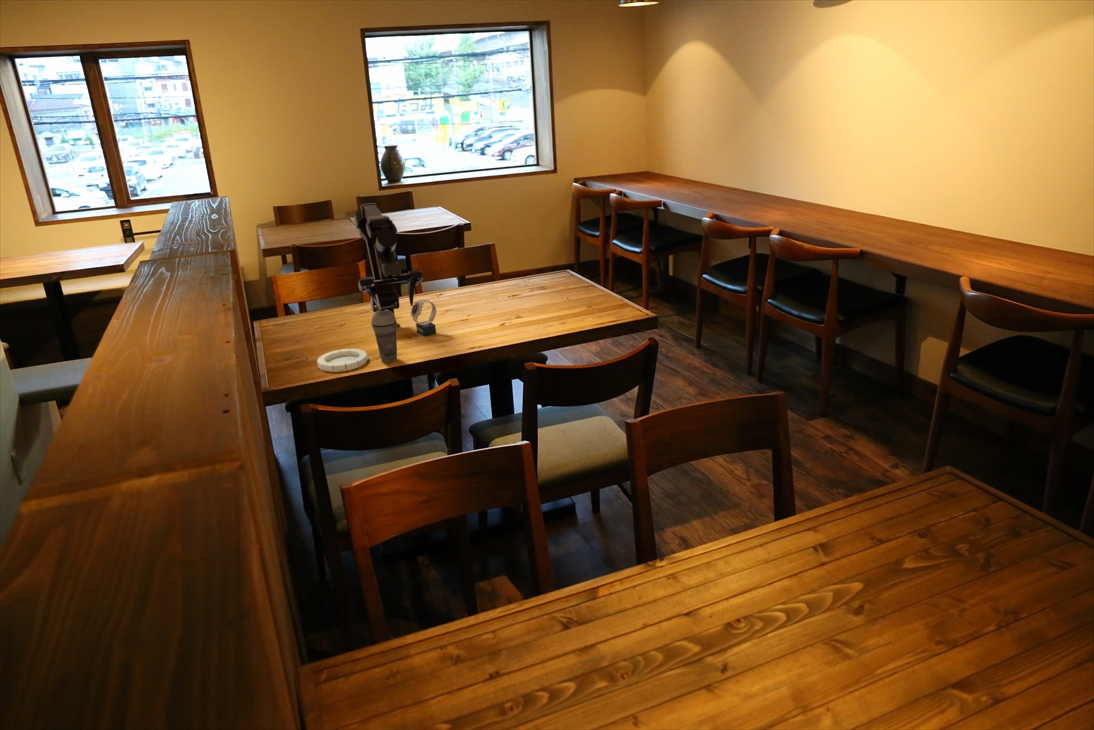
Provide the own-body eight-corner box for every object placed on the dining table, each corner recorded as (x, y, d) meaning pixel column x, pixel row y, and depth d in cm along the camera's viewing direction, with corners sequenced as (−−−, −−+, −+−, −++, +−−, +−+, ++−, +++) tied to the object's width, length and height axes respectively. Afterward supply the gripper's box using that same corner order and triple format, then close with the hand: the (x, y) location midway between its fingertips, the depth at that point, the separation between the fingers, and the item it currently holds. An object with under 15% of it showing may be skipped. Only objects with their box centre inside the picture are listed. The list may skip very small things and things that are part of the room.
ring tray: (311, 362, 219) (310, 357, 218) (355, 350, 226) (354, 345, 226) (329, 375, 208) (328, 369, 208) (375, 362, 216) (374, 356, 215)
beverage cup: (396, 364, 213) (387, 298, 206) (372, 364, 215) (362, 298, 207) (405, 355, 220) (397, 291, 213) (382, 355, 221) (373, 291, 214)
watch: (411, 333, 239) (407, 301, 235) (434, 328, 243) (430, 296, 239) (418, 338, 235) (414, 305, 231) (441, 332, 239) (437, 300, 235)
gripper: (356, 254, 211) (366, 306, 210) (420, 245, 217) (431, 296, 216) (354, 265, 222) (364, 315, 220) (415, 256, 228) (425, 305, 226)
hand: (396, 308), depth 220 cm, fingers open, 9 cm apart
